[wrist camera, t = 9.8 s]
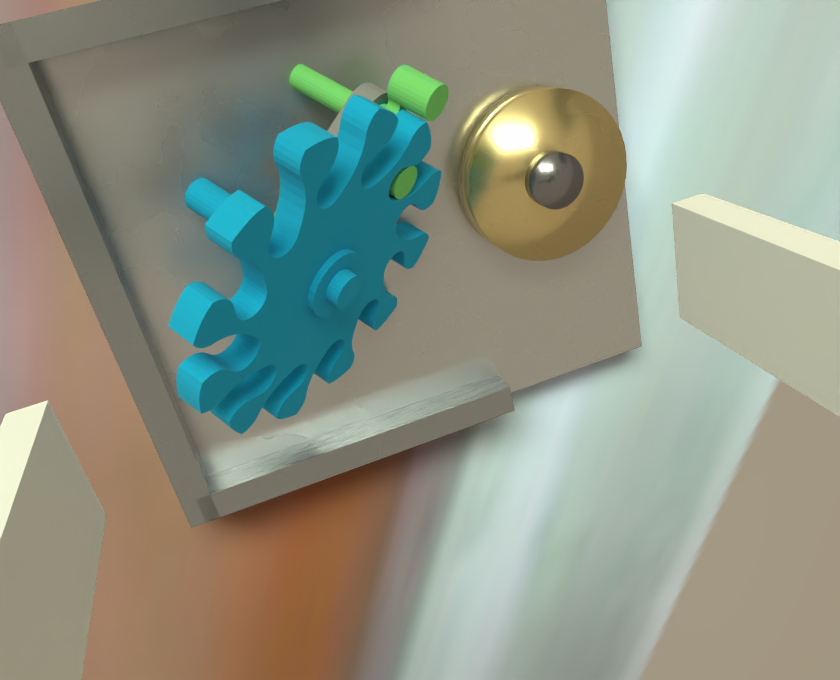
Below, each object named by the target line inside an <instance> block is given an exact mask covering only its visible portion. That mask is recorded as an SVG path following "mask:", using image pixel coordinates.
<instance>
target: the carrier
mask: <svg viewBox="0 0 840 680" xmlns="http://www.w3.org/2000/svg"><path fill="white" fill-rule="evenodd" d="M299 64H303V65H305V66H307V67H309V68H311V69H313V70H314V71H316V72H318V73H320V74H322V75H324V76H325V77H327V78H329V79H331V80H333V81H335V82H337V83H338V84H340V85H342V86H344V87H346V88H348V89H349V90H351V91H354V90H355V89H356V88H357V87H358V86H360V85H361V84H363V83H367V82H370V83H373V84H375V85H377V86H378V87H380V88H382V89H384V90H386V91H387V88H388V84H389V81H390V79H391V77H392V75H393V73H394V72H395V71H396V69H397V68H398V67H400V66H401V65H408V66H410V67H412V68H414V69H416V70H418V71H420V72H422V73H424V74H426V75H428V76H430V77H432V78H434V79H436V80H438V81H440V82H442V83H443V84H445V85H447V86H448V90H449V95H448V100H447V103H446V105H445V107H444V109H443V111H442V112H441V114H440V115H439V116H438V117H437V118H436V119H435V120H433V121H427V120H426V119H424V118H422V117H420V116H418V115H416V114H414V113H413V112H411V111H409V110H407V111H408V112H410V113H412V114H414V115H415V116H417V117H419V118H421V119H423V120H425V121H427V123H428V126H429V128H430V133H431V148H430V150H429V152H428V153H427V155H426V156H425V157H424V159H423V160H422V161H424V162H426V163H427V164H429V165H431V166H433V167H435V168H436V169H438V170H440V171H442V173H441V179H440V184H439V189H438V192H437V195H436V198H435V200H434V202H433V204H432V205H431V206H430V207H428V208H427V209H425V210H420V209H418V208H416V207H415V206H413V205H409V206H408V207H407V208H406V209H405V210H404V211H403V212H402V214H401V215H400V217H399V219H398V222H397V225H398V224H400V223H402V222H408V223H410V224H412V225H413V226H415V227H417V228H418V229H420V230H422V231H423V232H425V233H427V234H428V235H429V239H428V241H427V243H426V246H425V248H424V250H423V252H422V254H421V256H420V257H419V259H418V261H417V262H416V264H415V265H414V267H412V268H411V269H406V268H405V267H403V266H401V265H400V264H398V263H397V262H395V261H393V260H392V259H390V261H389V262H388V264H387V266H386V269H385V272H384V287H385V290H386V291H387V292H389V293H390V294H392V295H394V296H395V297H397V306H396V308H395V309H394V311H393V312H392V313H391V315H390V316H389V317H388V319H387V320H386V321H385V322H384V323H383V325H382V326H381V327H380V328H379V329H378V330H374V329H372V328H371V327H369V326H368V325H366V324H365V323H363V322H362V321H360V320H359V319H358V322H357V324H356V327H355V331H354V334H353V339H352V348H353V352H354V354H355V357H354V361H353V364H352V366H351V368H350V369H349V370H348V371H347V372H346V373H344V374H343V375H342V376H341V377H340V378H338V379H337V380H335V381H334V382H332V383H330V384H328V383H327V382H326V381H324V380H323V379H321V378H320V377H319V376H317V375H316V374H313V376H312V378H311V381H310V383H309V386H308V390H307V395H306V399H305V402H304V404H303V406H302V407H301V409H300V410H299V412H298V413H297V414H296V415H294V416H291V417H289V418H285V419H277V418H276V417H274V416H273V415H272V414H270V413H269V412H268V411H266V410H265V409H264V408H262V409H261V411H260V413H259V415H258V417H257V419H256V420H255V422H254V423H253V424H252V426H251V427H250V428H249V429H248V430H247V431H246V432H244V433H243V434H240V433H238V432H236V431H234V430H233V429H232V428H230V427H229V426H228V425H226V424H225V423H224V422H223V421H221V420H220V419H219V418H217V417H216V416H215V415H214V414H212V413H211V411H208V412H206V413H202V414H201V413H199V412H198V411H197V410H196V409H194V408H193V407H192V406H190V405H189V404H188V403H187V402H185V401H184V400H183V399H182V398H180V397H179V396H178V391H177V385H176V377H177V371H178V367H179V365H180V364H181V363H182V362H183V361H184V360H185V359H186V358H188V357H189V356H191V355H193V354H195V353H199V352H204V353H208V354H212V355H216V354H219V353H221V352H223V351H224V350H225V349H226V348H227V347H229V345H230V344H231V343H232V341H233V340H234V338H235V336H236V334H235V335H232V336H228V337H226V338H223V339H221V340H219V341H217V342H216V343H214V344H212V345H211V346H209V347H206V348H196V347H195V346H193V345H192V344H191V343H189V342H188V341H187V340H185V339H184V338H183V337H181V336H180V335H179V334H177V333H176V332H175V331H173V330H172V329H171V328H170V327H168V325H169V322H170V319H171V316H172V313H173V310H174V308H175V305H176V303H177V301H178V299H179V297H180V295H181V293H182V292H183V290H184V289H185V287H186V286H187V285H188V284H190V283H192V282H197V281H199V282H204V283H206V284H207V285H208V286H210V287H211V288H213V289H214V290H215V291H217V292H218V293H220V294H221V295H223V296H224V297H225V298H227V299H228V300H229V299H230V298H232V297H233V296H234V295H235V293H236V292H237V291H238V289H239V288H240V286H241V283H242V280H243V271H242V267H241V263H240V260H239V259H238V258H236V257H235V256H233V255H232V254H230V253H229V252H227V251H226V250H224V249H223V248H221V247H220V246H219V245H217V244H216V243H214V242H213V241H211V240H210V239H209V238H208V237H207V235H206V232H205V224H206V222H207V221H208V220H206V219H205V218H203V217H202V216H200V215H199V214H197V213H196V212H194V211H193V210H191V209H190V208H188V207H187V206H186V204H185V194H186V191H187V189H188V187H189V186H190V185H191V184H192V183H193V182H194V181H195V180H197V179H199V178H206V179H208V180H210V181H211V182H213V183H214V184H216V185H217V186H219V187H220V188H222V189H224V190H225V191H227V192H228V193H230V194H233V193H234V192H236V191H237V190H241V191H243V192H245V193H246V194H248V195H249V196H251V197H252V198H254V199H256V200H257V201H259V202H260V203H262V204H263V205H265V206H267V207H268V208H269V209H271V210H272V212H273V214H274V213H275V211H276V208H277V204H278V199H279V192H280V177H279V172H278V168H277V166H276V163H275V161H274V157H273V148H274V144H275V140H276V138H277V136H278V134H279V133H281V132H283V131H285V130H286V129H288V128H290V127H292V126H294V125H296V124H299V123H303V122H312V123H313V124H315V125H317V126H319V127H320V128H322V129H324V130H326V131H328V129H329V127H330V126H331V124H332V123H333V121H334V120H335V118H336V117H337V115H338V113H337V112H335V111H333V110H331V109H330V108H328V107H326V106H324V105H322V104H321V103H319V102H317V101H315V100H313V99H312V98H310V97H308V96H306V95H305V94H303V93H301V92H299V91H297V90H296V89H294V88H292V87H291V86H290V83H289V78H290V74H291V72H292V70H293V69H294V68H295V67H296V66H297V65H299ZM0 101H1V103H2V106H3V108H4V110H5V112H6V115H7V117H8V119H9V121H10V124H11V126H12V128H13V130H14V133H15V135H16V137H17V139H18V141H19V144H20V146H21V148H22V150H23V153H24V155H25V157H26V159H27V162H28V164H29V166H30V168H31V171H32V173H33V175H34V177H35V180H36V182H37V184H38V186H39V188H40V191H41V193H42V195H43V197H44V200H45V202H46V204H47V206H48V209H49V211H50V213H51V215H52V218H53V220H54V222H55V224H56V226H57V229H58V231H59V233H60V235H61V238H62V240H63V242H64V244H65V247H66V249H67V251H68V253H69V256H70V258H71V260H72V262H73V265H74V267H75V269H76V271H77V273H78V276H79V278H80V280H81V282H82V285H83V287H84V289H85V291H86V294H87V296H88V298H89V300H90V303H91V305H92V307H93V309H94V312H95V314H96V316H97V318H98V320H99V323H100V325H101V327H102V329H103V332H104V334H105V336H106V338H107V341H108V343H109V345H110V347H111V350H112V352H113V354H114V356H115V359H116V361H117V363H118V365H119V367H120V370H121V372H122V374H123V376H124V379H125V381H126V383H127V385H128V388H129V390H130V392H131V394H132V397H133V399H134V401H135V403H136V406H137V408H138V410H139V412H140V414H141V417H142V419H143V421H144V423H145V426H146V428H147V430H148V432H149V435H150V437H151V439H152V441H153V444H154V446H155V448H156V450H157V452H158V455H159V457H160V459H161V461H162V464H163V466H164V468H165V470H166V473H167V475H168V477H169V479H170V482H171V484H172V486H173V488H174V491H175V493H176V495H177V497H178V499H179V502H180V504H181V506H182V508H183V511H184V513H185V515H186V517H187V520H188V522H189V524H190V526H191V528H192V527H195V526H198V525H201V524H203V523H206V522H209V521H212V520H214V519H217V518H220V517H223V516H225V515H228V514H231V513H234V512H236V511H239V510H242V509H245V508H247V507H250V506H253V505H256V504H258V503H261V502H264V501H267V500H269V499H272V498H275V497H278V496H280V495H283V494H286V493H289V492H291V491H294V490H297V489H300V488H302V487H305V486H308V485H311V484H313V483H316V482H319V481H322V480H324V479H327V478H330V477H333V476H335V475H338V474H341V473H344V472H346V471H349V470H352V469H355V468H357V467H360V466H363V465H366V464H368V463H371V462H374V461H377V460H379V459H382V458H385V457H388V456H390V455H393V454H396V453H399V452H401V451H404V450H407V449H410V448H412V447H415V446H418V445H421V444H423V443H426V442H429V441H432V440H434V439H437V438H440V437H443V436H445V435H448V434H451V433H454V432H456V431H459V430H462V429H465V428H467V427H470V426H473V425H476V424H478V423H481V422H484V421H487V420H489V419H492V418H495V417H498V416H500V415H503V414H506V413H509V412H511V411H514V405H513V400H512V395H511V393H512V392H515V391H518V390H521V389H523V388H526V387H529V386H532V385H535V384H537V383H540V382H543V381H546V380H549V379H551V378H554V377H557V376H560V375H562V374H565V373H568V372H571V371H574V370H576V369H579V368H582V367H585V366H588V365H590V364H593V363H596V362H599V361H601V360H604V359H607V358H610V357H613V356H615V355H618V354H621V353H624V352H627V351H629V350H632V349H635V348H638V347H640V346H641V336H640V327H639V317H638V307H637V298H636V288H635V279H634V269H633V259H632V250H631V240H630V230H629V221H628V211H627V201H626V192H625V178H626V167H627V163H626V151H625V145H624V141H623V138H622V134H621V132H620V130H619V124H618V115H617V105H616V95H615V86H614V76H613V66H612V57H611V47H610V37H609V28H608V18H607V8H606V0H101V1H96V2H92V3H88V4H84V5H80V6H75V7H71V8H67V9H63V10H58V11H54V12H50V13H46V14H42V15H37V16H33V17H29V18H25V19H20V20H16V21H12V22H8V23H4V24H0Z"/></svg>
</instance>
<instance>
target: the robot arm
mask: <svg viewBox="0 0 840 680" xmlns="http://www.w3.org/2000/svg"><path fill="white" fill-rule="evenodd" d="M672 214H673V228H674V242H675V256H676V270H677V284H678V298H679V312H680V318H681V319H683V320H685V321H686V322H688V323H689V324H691V325H693V326H694V327H696V328H697V329H699V330H701V331H702V332H704V333H705V334H707V335H709V336H710V337H712V338H714V339H715V340H717V341H718V342H720V343H722V344H723V345H725V346H726V347H728V348H730V349H731V350H733V351H734V352H736V353H738V354H739V355H741V356H743V357H744V358H746V359H747V360H749V361H751V362H752V363H754V364H755V365H757V366H759V367H760V368H762V369H763V370H765V371H767V372H768V373H770V374H772V375H773V376H775V377H776V378H778V379H780V380H781V381H783V382H784V383H786V384H788V385H789V386H791V387H793V388H794V389H796V390H797V391H799V392H801V393H802V394H804V395H805V396H807V397H809V398H810V399H812V400H814V401H815V402H817V403H818V404H820V405H821V406H823V407H825V408H826V409H828V410H830V411H831V412H833V413H834V414H836V415H838V416H839V417H840V242H839V241H836V240H833V239H831V238H828V237H825V236H822V235H819V234H817V233H814V232H811V231H808V230H805V229H802V228H800V227H797V226H794V225H791V224H788V223H786V222H783V221H780V220H777V219H774V218H771V217H769V216H766V215H763V214H760V213H757V212H755V211H752V210H749V209H746V208H743V207H740V206H738V205H735V204H732V203H729V202H726V201H723V200H721V199H718V198H715V197H712V196H709V195H707V194H704V193H703V194H700V195H697V196H693V197H690V198H687V199H684V200H681V201H678V202H674V203H672ZM105 518H106V513H105V511H104V509H103V507H102V506H101V504H100V502H99V500H98V498H97V496H96V494H95V492H94V490H93V488H92V486H91V484H90V482H89V480H88V478H87V476H86V474H85V472H84V470H83V468H82V466H81V464H80V462H79V460H78V458H77V456H76V454H75V453H74V451H73V449H72V447H71V445H70V443H69V441H68V439H67V437H66V435H65V433H64V431H63V429H62V427H61V425H60V423H59V421H58V419H57V417H56V415H55V413H54V411H53V409H52V407H51V405H50V403H49V401H45V402H42V403H38V404H35V405H32V406H29V407H26V408H23V409H19V410H16V411H13V412H10V413H7V414H6V415H5V417H4V419H3V422H2V424H1V426H0V680H81V678H82V671H83V664H84V658H85V651H86V644H87V638H88V631H89V624H90V618H91V611H92V604H93V598H94V591H95V585H96V578H97V571H98V565H99V558H100V551H101V545H102V538H103V531H104V525H105Z"/></svg>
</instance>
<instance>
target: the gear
mask: <svg viewBox="0 0 840 680" xmlns="http://www.w3.org/2000/svg"><path fill="white" fill-rule="evenodd" d="M289 83H290V86H291V87H292V88H294V89H296V90H297V91H299V92H301V93H303V94H305V95H306V96H308V97H310V98H312V99H313V100H315V101H317V102H319V103H321V104H322V105H324V106H326V107H328V108H330V109H331V110H333V111H335V112H337V113H338V115H337V117H336V118H335V120H334V121H333V123H332V124H331V126H330V127H329V129H328V131H326V130H324V129H322V128H320V127H319V126H317V125H315V124H313V123H312V122H303V123H299V124H296V125H294V126H292V127H290V128H288V129H286V130H285V131H283V132H281V133H279V134H278V136H277V138H276V140H275V144H274V148H273V157H274V161H275V163H276V166H277V168H278V172H279V177H280V192H279V199H278V204H277V208H276V211H275V213H274V214H273V212H272V210H271V209H269V208H268V207H267V206H265V205H263V204H262V203H260V202H259V201H257V200H256V199H254V198H252V197H251V196H249V195H248V194H246V193H245V192H243V191H241V190H237V191H236V192H234V193H233V194H230V193H228V192H227V191H225V190H224V189H222V188H220V187H219V186H217V185H216V184H214V183H213V182H211V181H210V180H208V179H206V178H199V179H197V180H195V181H194V182H193V183H192V184H191V185H190V186H189V187H188V189H187V191H186V194H185V204H186V206H187V207H188V208H190V209H191V210H193V211H194V212H196V213H197V214H199V215H200V216H202V217H203V218H205V219H206V220H208V221H207V222H206V224H205V232H206V235H207V237H208V238H209V239H210V240H211V241H213V242H214V243H216V244H217V245H219V246H220V247H221V248H223V249H224V250H226V251H227V252H229V253H230V254H232V255H233V256H235V257H236V258H238V259H239V260H240V263H241V267H242V271H243V280H242V283H241V286H240V288H239V289H238V291H237V292H236V293H235V295H234V296H233V297H232V298H230V299H229V300H228V299H227V298H225V297H224V296H223V295H221V294H220V293H218V292H217V291H215V290H214V289H213V288H211V287H210V286H208V285H207V284H206V283H204V282H199V281H197V282H192V283H190V284H188V285H187V286H186V287H185V289H184V290H183V292H182V293H181V295H180V297H179V299H178V301H177V303H176V305H175V308H174V310H173V313H172V316H171V319H170V322H169V325H168V327H170V328H171V329H172V330H173V331H175V332H176V333H177V334H179V335H180V336H181V337H183V338H184V339H185V340H187V341H188V342H189V343H191V344H192V345H193V346H195V347H196V348H206V347H209V346H211V345H212V344H214V343H216V342H217V341H219V340H221V339H223V338H226V337H228V336H232V335H235V334H236V336H235V338H234V340H233V341H232V343H231V344H230V345H229V347H227V348H226V349H225V350H224V351H223V352H221V353H219V354H216V355H212V354H208V353H204V352H199V353H195V354H193V355H191V356H189V357H188V358H186V359H185V360H184V361H183V362H182V363H181V364H180V365H179V367H178V371H177V377H176V385H177V391H178V396H179V397H180V398H182V399H183V400H184V401H185V402H187V403H188V404H189V405H190V406H192V407H193V408H194V409H196V410H197V411H198V412H199V413H201V414H202V413H206V412H208V411H211V413H212V414H214V415H215V416H216V417H217V418H219V419H220V420H221V421H223V422H224V423H225V424H226V425H228V426H229V427H230V428H232V429H233V430H234V431H236V432H238V433H240V434H243V433H244V432H246V431H247V430H248V429H249V428H250V427H251V426H252V424H253V423H254V422H255V420H256V419H257V417H258V415H259V413H260V411H261V409H262V408H264V409H265V410H266V411H268V412H269V413H270V414H272V415H273V416H274V417H276V418H277V419H285V418H289V417H291V416H294V415H296V414H297V413H298V412H299V410H300V409H301V407H302V406H303V404H304V402H305V399H306V395H307V390H308V386H309V383H310V381H311V378H312V376H313V374H316V375H317V376H319V377H320V378H321V379H323V380H324V381H326V382H327V383H328V384H330V383H332V382H334V381H335V380H337V379H338V378H340V377H341V376H342V375H343V374H344V373H346V372H347V371H348V370H349V369H350V368H351V366H352V364H353V361H354V357H355V354H354V352H353V348H352V339H353V334H354V331H355V327H356V324H357V322H358V319H359V320H360V321H362V322H363V323H365V324H366V325H368V326H369V327H371V328H372V329H374V330H378V329H379V328H380V327H381V326H382V325H383V323H384V322H385V321H386V320H387V319H388V317H389V316H390V315H391V313H392V312H393V311H394V309H395V308H396V306H397V297H395V296H394V295H392V294H390V293H389V292H387V291H386V290H385V287H384V272H385V269H386V266H387V264H388V262H389V261H390V259H392V260H393V261H395V262H397V263H398V264H400V265H401V266H403V267H405V268H406V269H411V268H412V267H414V265H415V264H416V262H417V261H418V259H419V257H420V256H421V254H422V252H423V250H424V248H425V246H426V243H427V241H428V239H429V235H428V234H427V233H425V232H423V231H422V230H420V229H418V228H417V227H415V226H413V225H412V224H410V223H408V222H402V223H400V224H398V225H397V222H398V219H399V217H400V215H401V214H402V212H403V211H404V210H405V209H406V208H407V207H408V206H409V205H413V206H415V207H416V208H418V209H420V210H425V209H427V208H428V207H430V206H431V205H432V204H433V202H434V200H435V198H436V195H437V192H438V189H439V184H440V179H441V173H442V171H440V170H438V169H436V168H435V167H433V166H431V165H429V164H427V163H426V162H424V161H422V160H423V159H424V157H425V156H426V155H427V153H428V152H429V150H430V148H431V133H430V128H429V126H428V123H427V121H433V120H435V119H436V118H437V117H438V116H439V115H440V114H441V112H442V111H443V109H444V107H445V105H446V103H447V100H448V95H449V90H448V86H447V85H445V84H443V83H442V82H440V81H438V80H436V79H434V78H432V77H430V76H428V75H426V74H424V73H422V72H420V71H418V70H416V69H414V68H412V67H410V66H408V65H401V66H400V67H398V68H397V69H396V71H395V72H394V73H393V75H392V77H391V79H390V81H389V84H388V88H387V91H386V90H384V89H382V88H380V87H378V86H377V85H375V84H373V83H370V82H367V83H363V84H361V85H360V86H358V87H357V88H356V89H355V90H354V91H351V90H349V89H348V88H346V87H344V86H342V85H340V84H338V83H337V82H335V81H333V80H331V79H329V78H327V77H325V76H324V75H322V74H320V73H318V72H316V71H314V70H313V69H311V68H309V67H307V66H305V65H303V64H299V65H297V66H296V67H295V68H294V69H293V70H292V72H291V74H290V78H289ZM407 110H409V111H411V112H413V113H414V114H416V115H418V116H420V117H422V118H424V119H426V120H427V121H425V120H423V119H421V118H419V117H417V116H415V115H414V114H412V113H410V112H408V111H407Z"/></svg>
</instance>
